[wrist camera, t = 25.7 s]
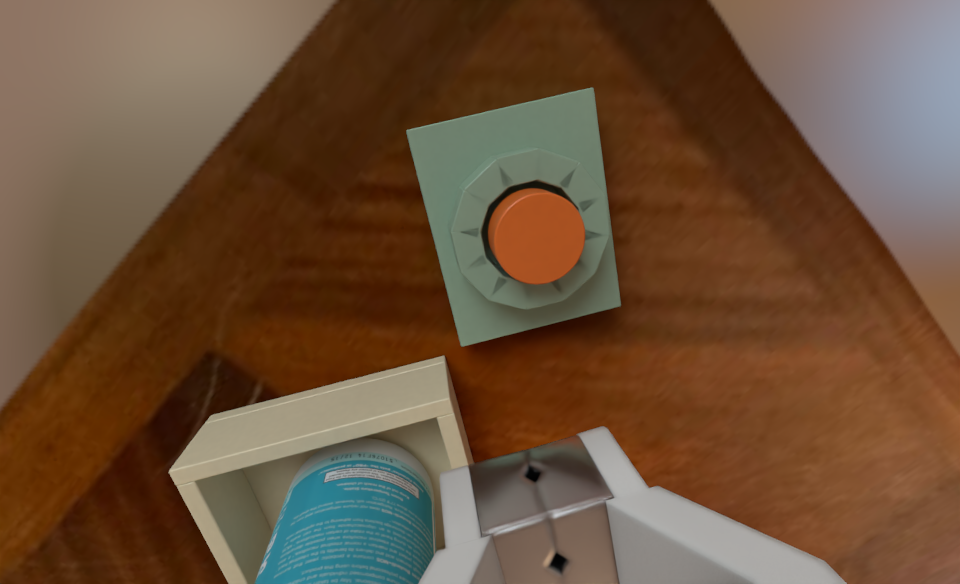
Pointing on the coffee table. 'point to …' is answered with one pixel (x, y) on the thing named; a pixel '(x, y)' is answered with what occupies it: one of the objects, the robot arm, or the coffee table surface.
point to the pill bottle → (354, 519)
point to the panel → (491, 178)
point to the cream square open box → (310, 452)
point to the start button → (536, 235)
